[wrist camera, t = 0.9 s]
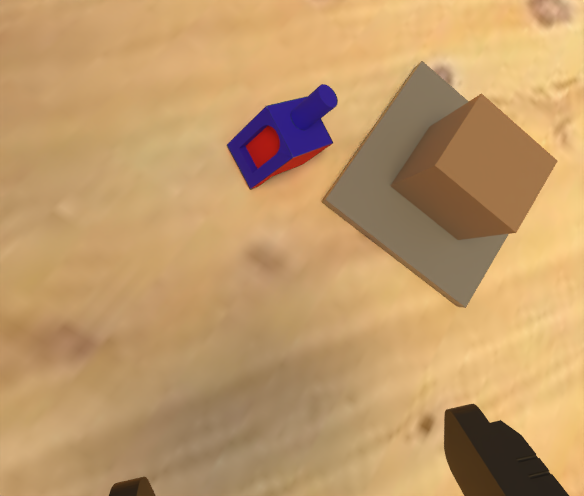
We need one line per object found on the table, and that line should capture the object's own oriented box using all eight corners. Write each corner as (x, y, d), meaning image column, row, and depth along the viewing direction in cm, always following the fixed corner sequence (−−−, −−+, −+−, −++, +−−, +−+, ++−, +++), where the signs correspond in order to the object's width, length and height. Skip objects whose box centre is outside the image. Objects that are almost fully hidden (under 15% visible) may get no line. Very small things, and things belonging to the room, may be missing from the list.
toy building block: (288, 173, 32) (362, 122, 26) (250, 189, 29) (322, 136, 23) (267, 133, 31) (336, 71, 25) (226, 144, 29) (293, 79, 23)
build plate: (321, 201, 30) (356, 181, 24) (415, 67, 33) (471, 13, 26) (457, 306, 32) (526, 315, 26) (536, 172, 35) (618, 147, 28)
